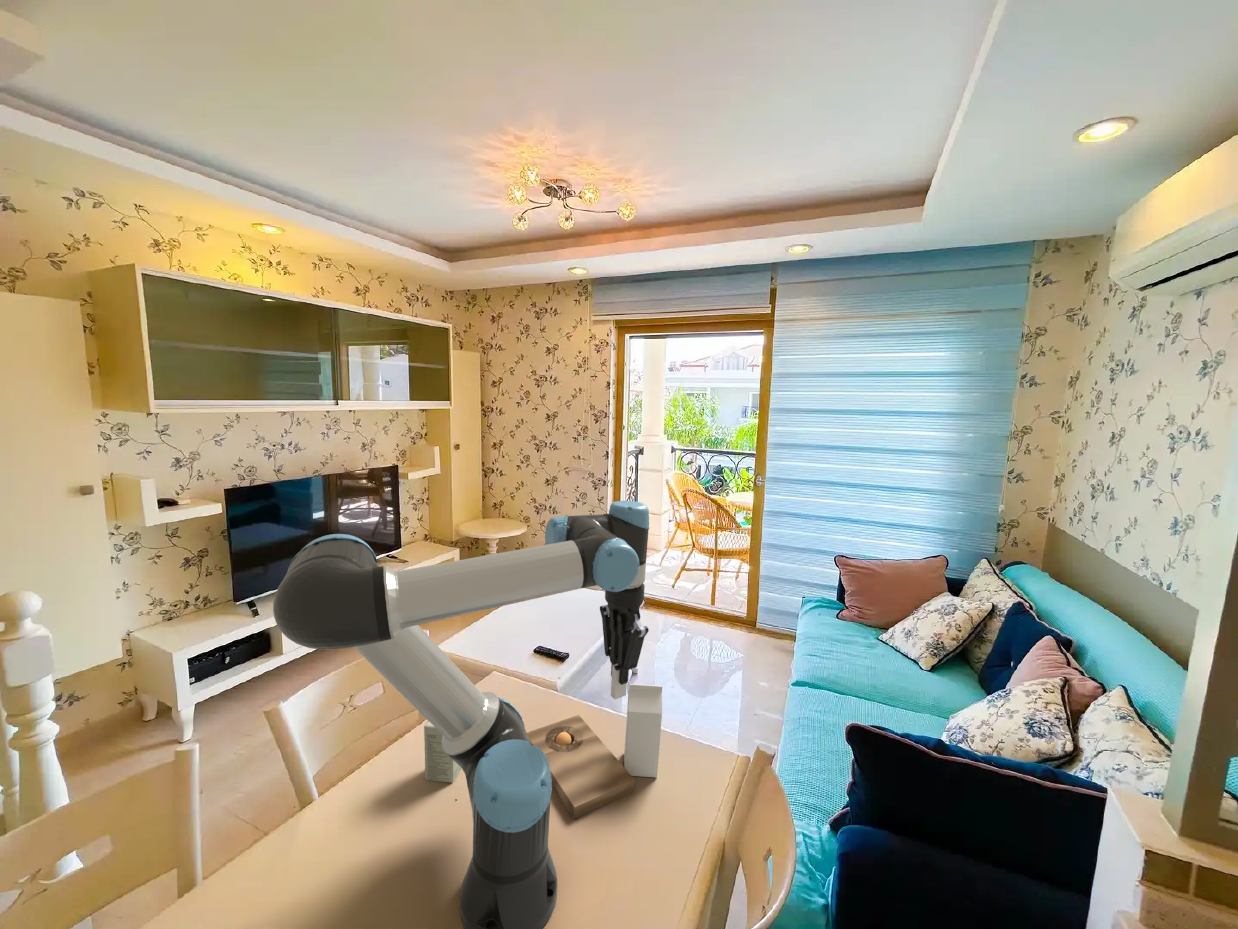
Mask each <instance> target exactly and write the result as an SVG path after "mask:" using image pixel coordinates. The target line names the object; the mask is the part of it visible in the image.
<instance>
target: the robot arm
mask: <svg viewBox="0 0 1238 929" xmlns="http://www.w3.org/2000/svg"><path fill="white" fill-rule="evenodd" d="M544 530H545V531H544V540H545V541H544V542H545V543H544V544H543V545H538V546H532V547H527V548H522V549H521V548H519V549H515V550H510V551H503V552H498V553H492V554H486V555H481V556H475V557H470V558H465V559H460V560H459V559H458V560H453V561H447V562H443V563H436V564H432V565H427V566H420V567H414V568H409V569H408V568H407V569H402V570H398V571H397V570H394V569H392V567H389V566H388V565H382V566H381V565H380V566H379V565H378V559H377V556H376V554H375V553H374V550H373V549H372V548H371V546H370V545H369V544H368V543H367V542H365V541H364V540H363V539H361V538H359V537H357V536H354V535H351V534H346V533H345V534H344V533H333V534H327V535H323V536H321V537H318V538H316V539H314V540H312V541H311V542H309V543H307V544H306V545H305V546H304V547H302V548H301V550H300V551H299V552H297V553H296V554H295V556H294V557H293V558H292V559H291V561H290V563H289V566H288V569H287V572H286V574H285V576H284V578H283V579H282V581H281V582H280V584H279V586H278V587H277V590H276V591H275V596H274V600H273V603H272V604H273V605H272V611H273V618H274V620H275V624H276V625H277V628H279V631H280V632H281V633H282V634H283V636H285V637H286V638H287V639H288V640H290V641H292V642H293V643H295V644H297V645H298V646H302V647H305V648H308V649H314V650H328V651H329V650H341V649H351V648H353V649H354V650H356V651H357V652H358V653H359V654H360V655H361V656H362V657H363V658H364V659H365V660H366V661H367V662H368V663H369V664H370V665H371V666H372V667H373V668H374V669H375V670H376V671H377V672H378V673H379V674H380V675H381V676H382V677H383V678H385V680H387V682H389V684H391V685H392V686H393V688H394V689H395V690H397V692H399V693H400V694H401V695H402V696H403V697H404V698H405V699H406V700H407V701H408V703H410V704H411V705H412V706H413V707H414V708H415V709H416V710H417V711H418V712H419V713H420V714H421V715H422V716H423V717H424V718H425V719H426V720H427V721H429V722H430V723H431V724H432V725H433V726H434V727H435V728H436V729H437V730H438V731H439V732H440V733H441V734H442V735H443V736H442V748H443V750H444V751H445V752H446V753H447V754H448V755H449V756H450V757H451V758H452V759H453V760H454V761H455V762H456V763H457V764H458V765H459V766H460V767H461V770H462V772H464V775H465V779H466V784H467V785H466V786H467V789H468V790H467V791H468V795H469V796H468V797H469V802H470V805H471V806H470V808H471V812H472V822H473V823H472V826H473V827H472V831H473V832H472V857H471V860H470V862H469V865H468V868H467V870H466V872H465V875H464V878H463V880H462V883H461V888H460V893H459V894H460V895H459V914H460V920H461V922H462V925H463V927H464V929H544V927H545V926H546V925H547V923H548V922H549V920H550V919H551V916H552V914H553V912H554V909H555V906H556V902H557V897H558V875H557V872H556V867H555V863H554V861H553V857H552V855H551V852H550V850H549V835H550V834H549V833H550V831H549V830H550V812H551V811H550V810H551V797H552V790H553V786H552V779H551V771H550V765H549V762H548V759H547V757H546V755H545V754H544V753H543V751H542V750H541V749H540V748H539V747H537V746H536V745H533V746H532V745H531V743H530V740H529V738H528V735H527V729H526V728H525V724H524V723H525V722H524V721H523V718H522V715H521V714H520V711H518V710H517V708H516V707H515V706H514V705H513V704H512V703H511V702H510V701H508V700H507V699H504V698H502V697H499V696H498V695H496V694H495V692H492V691H484V692H483V691H482V692H481V691H480V690H479V689H478V688H477V686H476V685H475V684H474V683H473V682H472V681H471V680H470V679H469V678H468V677H467V676H466V674H464V672H463V671H462V670H461V669H460V668H459V667H458V666H457V665H456V664H455V663H454V661H453V660H451V658H450V657H449V656H448V655H447V654H446V653H445V652H444V651H443V650H442V649H441V648H440V647H439V645H438V644H437V643H436V642H435V641H434V640H433V639H432V638H431V637H430V635H428V633H427V632H425V630H424V629H423V628H422V627H421V626H420V625H425V624H428V623H432V622H437V621H442V620H447V619H451V618H455V617H460V616H465V615H468V614H474V613H477V612H482V611H487V610H490V609H495V608H500V607H504V606H508V605H513V604H518V603H522V602H526V601H530V600H536V599H539V598H540V599H541V598H543V597H549V596H553V595H558V594H562V593H567V592H571V591H576V590H580V589H585V588H590V587H591V588H592V587H596V586H598V587H600V589H602V590H605V591H604V592H605V593H604V599H605V602H606V603H607V604H605V605H601V606H599V612H600V615H601V621H602V623H601V624H602V633H603V647H604V655H605V657H608V658H609V662H610V664H611V666H610V676H611V680H610V682H611V683H610V684H611V686H610V697H612V699H614V700H618V699H621V698H622V697H626V696H627V686H628V683H629V673H630V671H631V670H633V669H635V668H637V667H638V664H639V660H640V656H641V652H642V649H643V645H644V640H645V637H646V636H647V635H648V633H649V631H650V630H649V627H648V626H647V625H645V626H644V625H643V624H642V622H641V621H640V620H641V612H640V607H641V606H642V604H643V603H644V601H645V588H646V587H645V584H644V583H645V580H646V569H647V567H646V566H647V556H648V554H647V552H648V542H649V541H648V540H649V530H650V509H649V508H648V506H647V505H646V504H644V503H643V502H639V501H634V500H618V501H613V502H612V503H610V505H609V510H608V513H603V514H586V515H585V514H584V515H568V514H567V515H563V516H562V515H561V516H555V517H551V518H550V519H549V520H548V521H547V523H546V526H545V529H544Z"/></svg>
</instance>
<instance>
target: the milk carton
mask: <svg viewBox="0 0 1238 929" xmlns="http://www.w3.org/2000/svg"><path fill="white" fill-rule="evenodd" d="M627 693H628V694H627V708H626V720H625V721H626V725H625V736H624V737H625V739H624V757H623V758H624V759H623V762H624V763H623V764H624V766H623V767H624V768H625V769H626V770H627V771H628V773H629V774H630V775H631V776H632V777H643V778H644V777H645V778H658V770H659V759H660V758H659V757H660V744H661V732H662V731H661V730H662V718H663V686H662V685H652V684H650V685H649V684H637V683H636V684H633V683H629V686H628V691H627Z"/></svg>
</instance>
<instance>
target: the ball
mask: <svg viewBox="0 0 1238 929" xmlns="http://www.w3.org/2000/svg"><path fill="white" fill-rule="evenodd" d="M556 744H558V745H561V746H568V745H570V744H571V737H570V735H569V734H568V733H566V732H561V733H560V734H558V735H557V737H556Z"/></svg>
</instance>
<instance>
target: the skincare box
mask: <svg viewBox="0 0 1238 929" xmlns="http://www.w3.org/2000/svg"><path fill="white" fill-rule="evenodd" d="M423 732H424V733H423V735H424V738H423V739H424V770H425V771H424V772H425V773H424V774H425V775H424V777H425V778H424V779H425V780H427V781H433V782H443V783H454V782H455V781H456V779H457V777H458V775H459V774H460V772H461V770H462V768H461V767H460V766H459V765H458V764H457V763H456V762H455V761H454V760H453V759H452V758H451V757H450V756H449V755H448V754H447V753H446V752H445V751H444V750H443V748H442V736H443V735H442V734H441V733H440V732H439V731H438V730H437V729H436V728H435V727H434V726H433V725H432V724H431V723H430V722H429V721H428V720H427V721H426V723H425V724H424V726H423Z"/></svg>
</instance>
